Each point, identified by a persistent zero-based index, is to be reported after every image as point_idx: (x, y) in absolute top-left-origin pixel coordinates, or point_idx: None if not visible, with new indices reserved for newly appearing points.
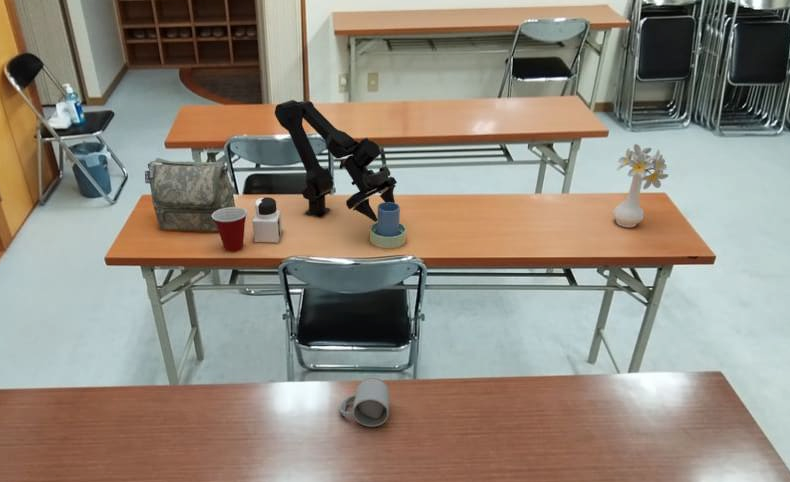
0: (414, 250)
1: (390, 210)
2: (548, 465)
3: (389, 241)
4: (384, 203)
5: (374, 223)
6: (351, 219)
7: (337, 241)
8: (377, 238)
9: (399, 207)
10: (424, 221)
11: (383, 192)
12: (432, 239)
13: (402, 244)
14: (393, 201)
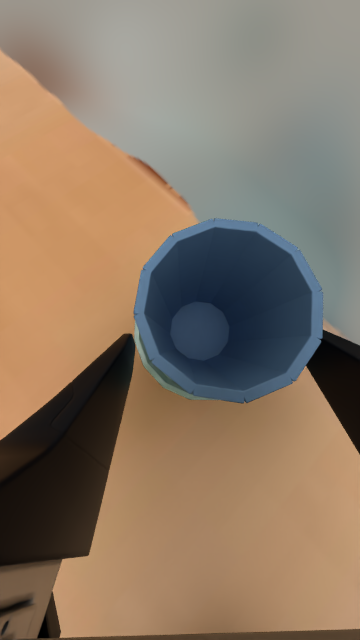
0: None
1: (165, 344)
2: None
3: None
4: (198, 382)
5: (209, 398)
6: (172, 539)
7: (317, 449)
8: None
9: (173, 235)
10: (28, 336)
11: (42, 566)
12: (103, 253)
13: None
14: (98, 369)
